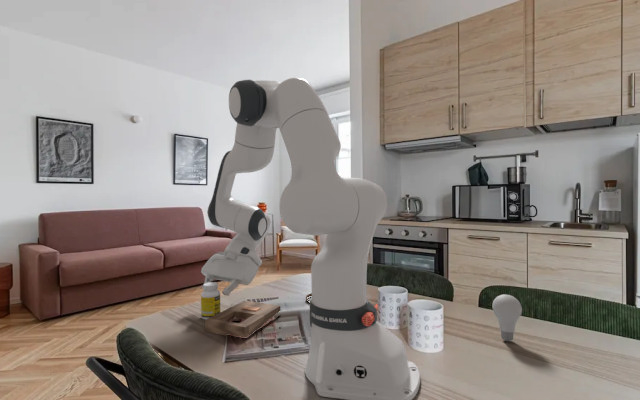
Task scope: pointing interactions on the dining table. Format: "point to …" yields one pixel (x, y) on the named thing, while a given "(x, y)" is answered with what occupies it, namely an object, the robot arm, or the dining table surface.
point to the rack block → (247, 310)
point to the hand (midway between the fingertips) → (214, 292)
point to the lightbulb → (507, 314)
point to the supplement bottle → (210, 300)
